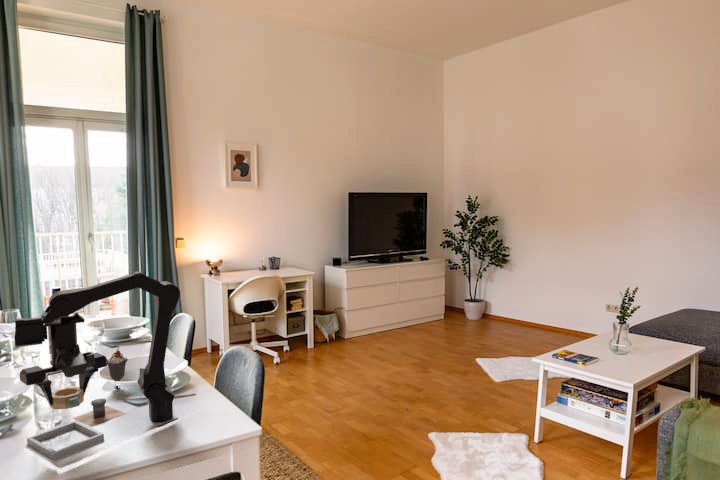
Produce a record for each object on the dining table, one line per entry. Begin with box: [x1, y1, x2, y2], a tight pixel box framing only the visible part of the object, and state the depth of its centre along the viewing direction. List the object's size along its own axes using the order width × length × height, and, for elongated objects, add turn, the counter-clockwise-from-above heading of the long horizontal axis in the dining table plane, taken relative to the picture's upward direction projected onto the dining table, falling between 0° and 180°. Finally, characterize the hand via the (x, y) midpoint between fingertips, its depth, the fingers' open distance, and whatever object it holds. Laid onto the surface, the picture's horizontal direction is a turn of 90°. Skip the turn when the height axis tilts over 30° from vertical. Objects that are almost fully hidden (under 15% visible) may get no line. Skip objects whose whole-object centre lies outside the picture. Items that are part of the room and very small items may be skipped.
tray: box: [26, 420, 105, 461], centre depth 127 cm, size 14×12×2 cm
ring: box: [49, 386, 85, 410], centre depth 128 cm, size 7×9×3 cm
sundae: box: [107, 346, 129, 390], centre depth 163 cm, size 7×7×15 cm
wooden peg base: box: [72, 398, 127, 428], centre depth 143 cm, size 10×10×5 cm
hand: (66, 400), depth 128 cm, fingers closed on ring, 7 cm apart
